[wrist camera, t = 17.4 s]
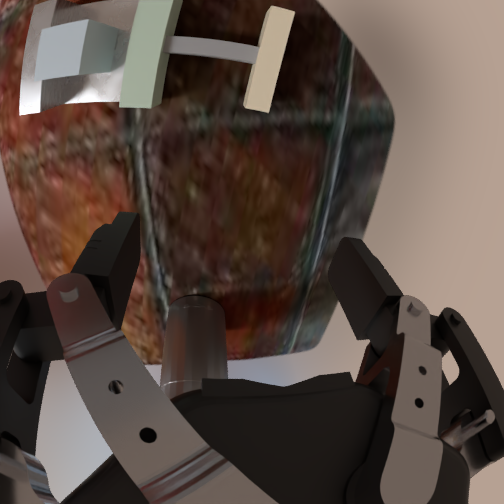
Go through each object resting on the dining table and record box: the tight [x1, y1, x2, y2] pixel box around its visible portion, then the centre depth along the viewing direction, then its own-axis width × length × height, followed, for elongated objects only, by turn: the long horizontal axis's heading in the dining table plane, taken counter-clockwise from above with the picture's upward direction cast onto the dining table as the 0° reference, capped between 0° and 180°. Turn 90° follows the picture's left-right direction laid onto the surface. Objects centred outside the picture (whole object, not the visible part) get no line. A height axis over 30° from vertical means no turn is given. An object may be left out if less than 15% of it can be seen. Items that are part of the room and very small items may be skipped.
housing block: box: [34, 19, 118, 82], centre depth 15 cm, size 5×5×7 cm
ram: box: [119, 0, 295, 113], centre depth 18 cm, size 12×13×4 cm
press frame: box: [20, 0, 139, 115], centre depth 16 cm, size 12×14×6 cm
